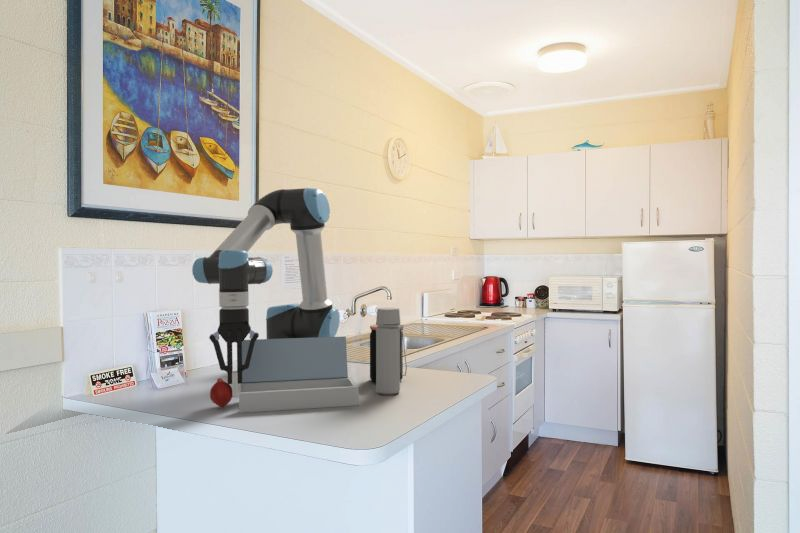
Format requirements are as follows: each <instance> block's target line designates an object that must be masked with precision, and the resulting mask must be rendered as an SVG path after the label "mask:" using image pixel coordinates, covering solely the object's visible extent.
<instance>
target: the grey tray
mask: <svg viewBox="0 0 800 533" xmlns="http://www.w3.org/2000/svg"><path fill="white" fill-rule="evenodd" d="M359 388H360V386H359V385H358V384H357V383H356V381H355V380H354V378H353V377H348V378H338V379H319V380H299V381H280V382H260V383H241V384H240V391H238V400H239V401H238V409H239V410H238V413H239V414H242V413H243V414H244V413H256V412H257V413H258V412H260V413H261V412H271V411H272V412H274V411H290V410H305V409H306V410H307V409H308V410H309V409H321V408H335V407H351V406H354V407H355V406H359V405H360V402H359V401H360V398H359V397H360V396H359V395H360V394H359V393H360V392H359V391H360V389H359Z"/></svg>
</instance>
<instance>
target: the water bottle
mask: <svg viewBox="0 0 800 533" xmlns="http://www.w3.org/2000/svg"><path fill="white" fill-rule="evenodd" d="M400 312H401V311H400V308H399V307H380V308H379V307H378V308H377V310H376V322H375V325H377V326H378V327H376V383H375V385H376V388H375V391H376V393H378V394H379V395H383V396H392V395H396V394H398V393H400V390H401V381H400V372H401V363H402V336H403V337H404V331H403V330H404V325H403V324H401V322H402V321H401V313H400ZM398 325H399V326H398ZM400 327H401V332H402V334H401V363H400ZM403 346H405V339H404V338H403ZM403 352H404V353H403V354H404V361H405V363H404V364H405V372H404V373H403V374H402V373H401V374H402V376H403V377H404V376H405V377H406V375H407V369H408V366H407V357H406V350H405V347H403Z"/></svg>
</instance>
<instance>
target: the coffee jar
mask: <svg viewBox="0 0 800 533" xmlns="http://www.w3.org/2000/svg"><path fill="white" fill-rule="evenodd" d="M398 326H399V325H398ZM376 327H378V326H377V325H376V324H370V326H369V328H370V330H371V332H370V333H369V378H370V380H371V381H372V383H374V384H376ZM401 334H402V330H401V327H400V363H401ZM403 339H404V335H403V336H402V363H401V372H400V382H401V381H402V379H403V378H404V376H402V374H403V375H404V371H403V370H404V369H403V368H404V366H403V364H404V363H403V362H404V361H403V360H404V358H403V354H404V353H403V352H404V345H403ZM401 373H402V374H401Z"/></svg>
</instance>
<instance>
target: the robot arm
mask: <svg viewBox="0 0 800 533" xmlns="http://www.w3.org/2000/svg"><path fill="white" fill-rule="evenodd" d="M330 213H331V210H330V203H329V200H328V198H327V196H326V195H325V193H324V191H322V190H321V189H319V188H313V187H311V188H309V187H304V188H303V187H302V188H292V189H291V188H289V189H285V188H284V189H281V188H280V189H277V190H274V191H271V192H269V193H268V194H265V195H264V196H262V197H261V198H260V199H258V200H257V201H255V203H253V205H251V206H250V208H249V209H248V211H247V215H246V217H245V218H243V219H242V221H241V222H240V223H239V224H238V225H237V226H236V227H235V228H234V230H233V231H232V232H231V233H230V234H229V235H228V236H227V237H226V238H225V239H223V241H222V243H221V244H220V245H219V246H218V247H217V248H216V249H215V250H214V251H213V252H212V253H211V255H210V256H208V257H207V256H204V257H199V258H197V259H195V260H194V262H193V264H192V268H191V269H192V271H191V272H192V275H193V278H194V279H195V281H196V282H197V283H200V284H208V285H212V284H215V285H217V284H218V285H219V288H218V299H219V302H218V303H219V307H221V308H220V309H219V312H218V313H219V324H218V325H219V326H218V328H217V331H215V332H213V333H212V334H210V335H209V337H208V339H209V340H210V342H211V343H212V344H213V348H214V351H215V354H216V355H215V356H216V358H217V362H218V366H219V369H220V371H224V372H227V383H228V384H229V385H231V388H232V398H239V384H240V385H241V383H242V371H243V370H245V369H248V368H249V364H250V360H251V356H252V352H253V348H254V344H255V341H256V340H257V339H258V338H259V334H260V333H259V332H257V331H256V332H255V331H254V330H253V329H252V327H251V325H250V322H249V321H250V320H249V316H250V314H249V313H250V310H249V309H248V306H249V304H250V303H249V302H250V300H249V285H261V284H264V283H266V282H268V281H270V279H271V278H272V276H273V271H274V270H273V265H272V263H271V262H270V261H269V260H268V259H267V258H263V257H259V256H258V257H256V256H255V257H249V254H248V252H249V251H250V250H251V248H252V247H254V245H255V244H256V242H257V241H258V240H259V239H260V238H261V236H262V235H263V234H264V233H265V232H266V231H269V230H271V229H272V228H273V227H274V226H276V225H279V224H289V226H290V231H292V232H293V233H294V234H295V238H296V239H295V240H296V248H297V257H298V258H297V259H298V267H299V276H300V277H299V278H300V284H301V285H300V286H301V293H302V294H301V296H302V301H301V302H300V304H299V303H298V302H297V303H288V304H281V305H276V306H275V305H274V306H270V307H268V308H267V310H266V318H265V321H266V323H265V324H266V326H265V327H266V330H265V331H266V339H286V338H316V337H336V335H337V333H338V330H339V326H340V321H341V320H340V319H341V318H340V312H339V309H338V308H336V307H333V301H332V300H331V299H329V298H328V292H327V280H326V271H325V263H324V262H325V261H324V251H323V238H322V231H323V230H324V228H325V227H326V226H325V224H326V223H327V222H328V221H329V219H330ZM248 335H249V340H250V344H249V348H248V352H247V356H246V361H245V364H244V365H242V341H244V340H246V338H247V336H248ZM220 337H221V338H222V340H223V341H225V343H226V361H227V362H225V359H224V355H223V353H222V349H221V345H220V341H219V340H220ZM233 343H236V355H237V356H236V363H237V364H236V365H237V366H236V370H233V367H234V366H233ZM226 364H227V365H226Z"/></svg>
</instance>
